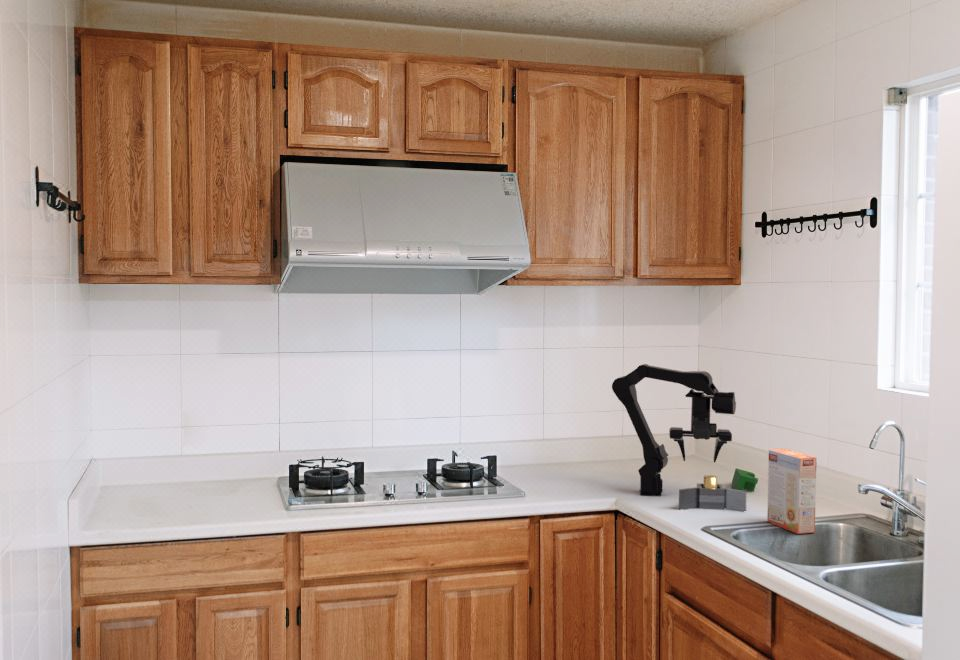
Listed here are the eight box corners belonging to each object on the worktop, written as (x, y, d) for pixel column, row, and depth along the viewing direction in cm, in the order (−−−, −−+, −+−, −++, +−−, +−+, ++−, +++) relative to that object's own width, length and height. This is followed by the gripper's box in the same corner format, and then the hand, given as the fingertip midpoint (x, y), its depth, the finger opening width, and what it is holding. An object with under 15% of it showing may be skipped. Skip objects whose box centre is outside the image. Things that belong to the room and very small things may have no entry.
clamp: (750, 505, 291) (759, 483, 287) (732, 500, 292) (740, 478, 288) (749, 484, 301) (757, 462, 297) (731, 479, 302) (739, 457, 298)
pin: (704, 507, 271) (704, 477, 270) (702, 504, 275) (702, 475, 274) (717, 507, 270) (718, 478, 270) (715, 504, 274) (716, 475, 274)
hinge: (679, 509, 268) (679, 489, 268) (676, 502, 277) (676, 482, 277) (746, 511, 265) (747, 491, 265) (741, 504, 275) (741, 484, 274)
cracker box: (816, 533, 242) (817, 456, 241) (797, 535, 241) (798, 457, 240) (784, 520, 256) (786, 447, 255) (766, 522, 254) (767, 448, 253)
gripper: (671, 414, 274) (669, 465, 275) (734, 417, 271) (732, 468, 272) (669, 409, 285) (668, 458, 286) (730, 411, 282) (729, 461, 283)
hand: (699, 461), depth 281 cm, fingers open, 9 cm apart
